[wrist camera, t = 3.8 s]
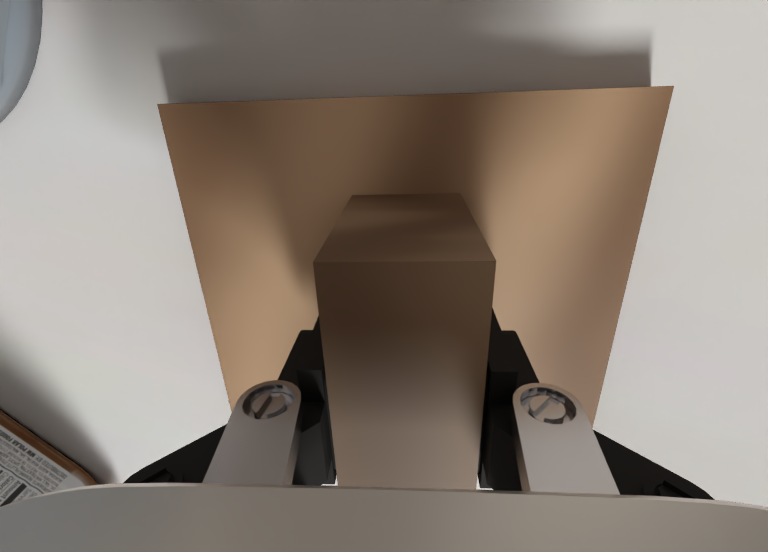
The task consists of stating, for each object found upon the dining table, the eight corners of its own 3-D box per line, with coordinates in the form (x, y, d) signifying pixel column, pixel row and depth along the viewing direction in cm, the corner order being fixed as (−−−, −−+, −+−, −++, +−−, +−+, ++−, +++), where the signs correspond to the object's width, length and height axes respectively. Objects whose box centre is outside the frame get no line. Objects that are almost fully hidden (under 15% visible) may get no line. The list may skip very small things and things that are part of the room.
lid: (651, 87, 11) (911, 75, 5) (572, 448, 16) (658, 634, 10) (177, 103, 11) (-37, 109, 6) (252, 441, 17) (176, 609, 11)
